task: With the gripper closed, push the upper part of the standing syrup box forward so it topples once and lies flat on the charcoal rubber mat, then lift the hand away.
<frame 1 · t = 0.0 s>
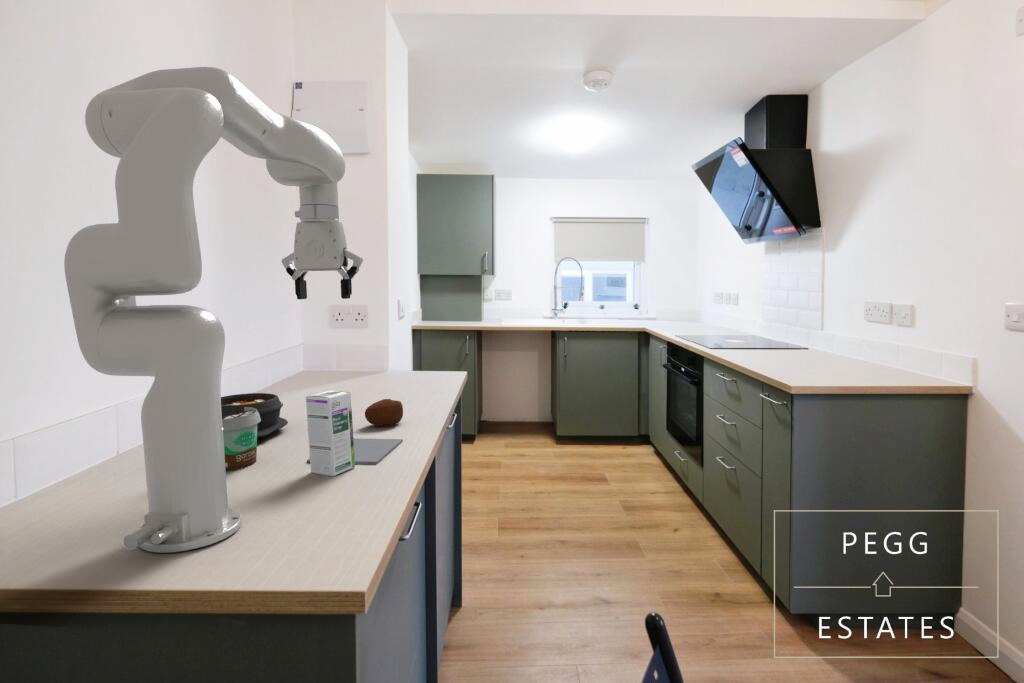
hand: (323, 298, 122), 31 cm above the counter, fingers open, 9 cm apart
potato: (384, 426, 141), on the counter
casserole: (245, 435, 135), on the counter
food container: (242, 465, 112), on the counter
mat: (357, 451, 119), on the counter
syrup box: (332, 471, 107), on the counter
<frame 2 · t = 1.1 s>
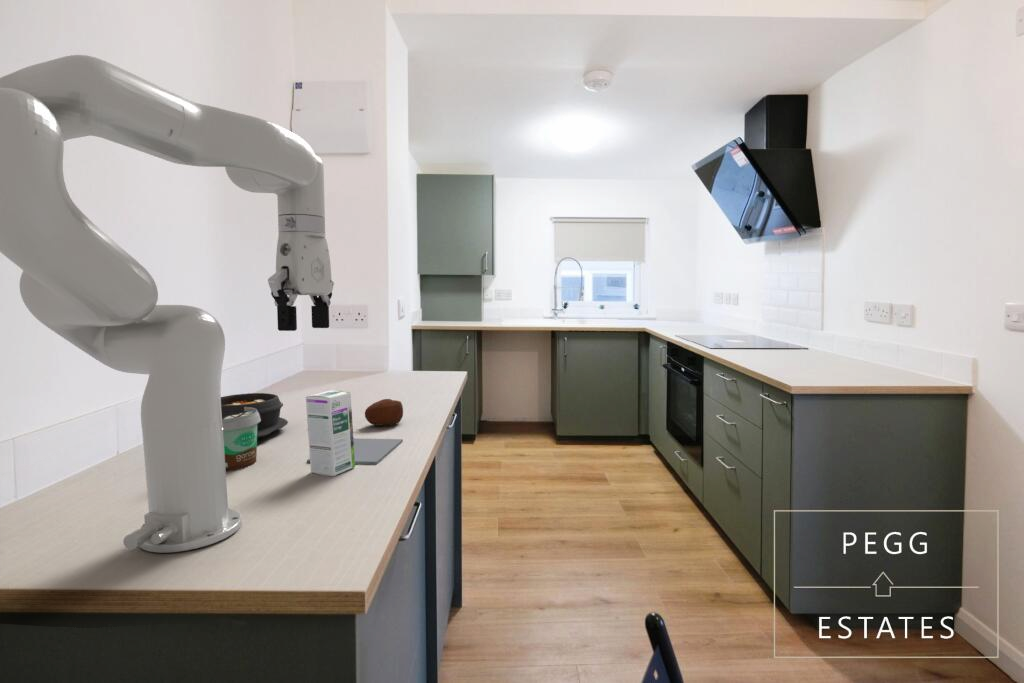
hand: (304, 329, 100), 27 cm above the counter, fingers open, 9 cm apart
nothing on the counter moved.
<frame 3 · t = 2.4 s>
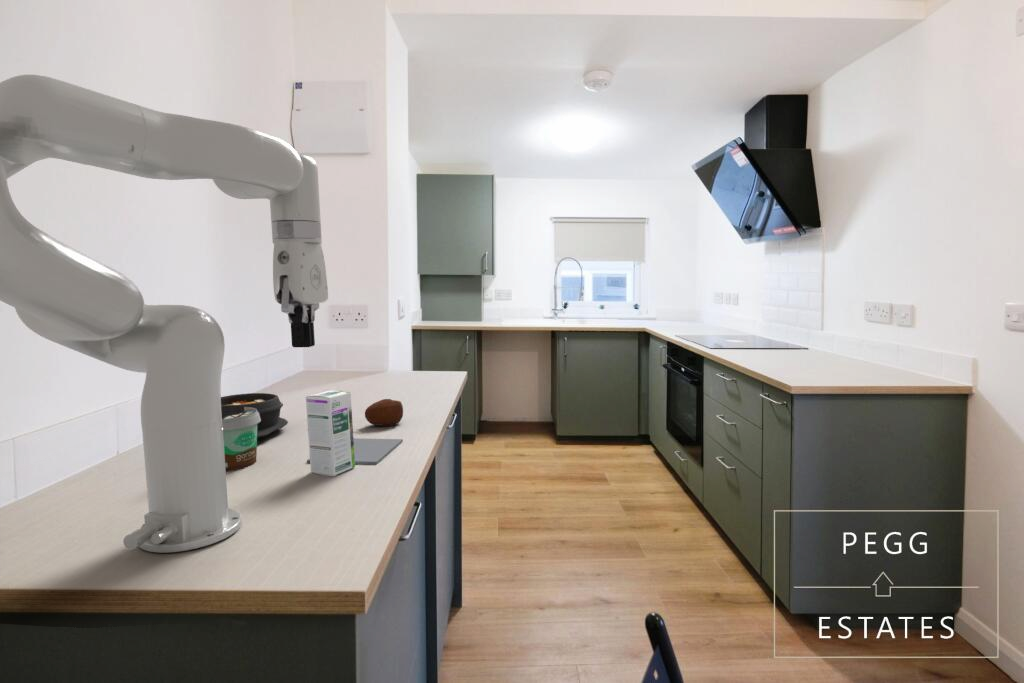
hand: (303, 346, 96), 24 cm above the counter, fingers closed
nothing on the counter moved.
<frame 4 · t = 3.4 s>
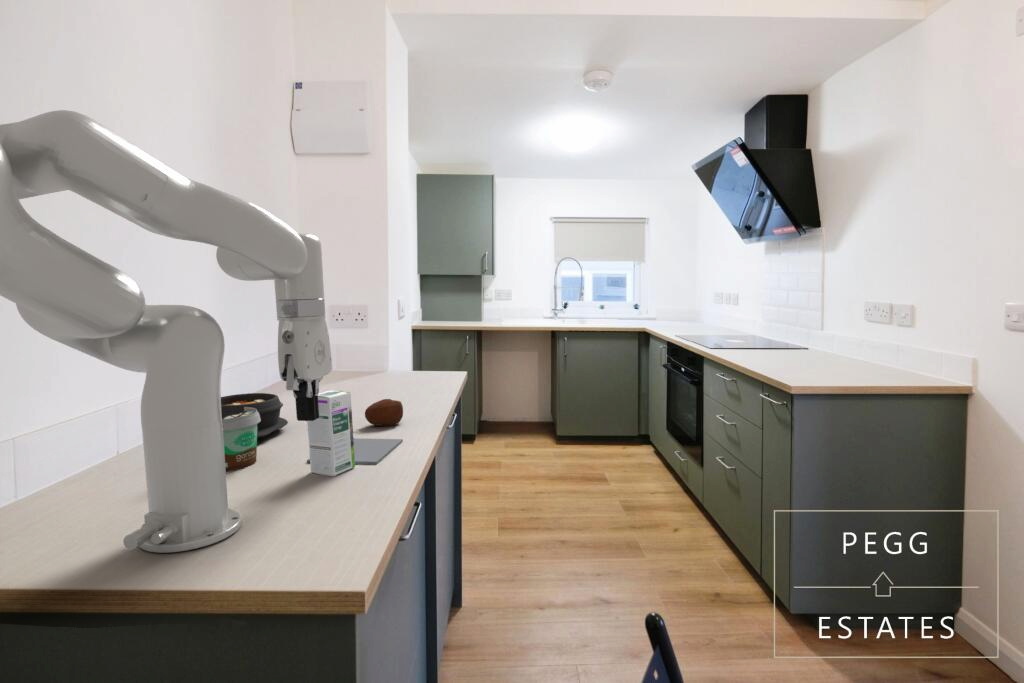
hand: (308, 419, 98), 12 cm above the counter, fingers closed
nothing on the counter moved.
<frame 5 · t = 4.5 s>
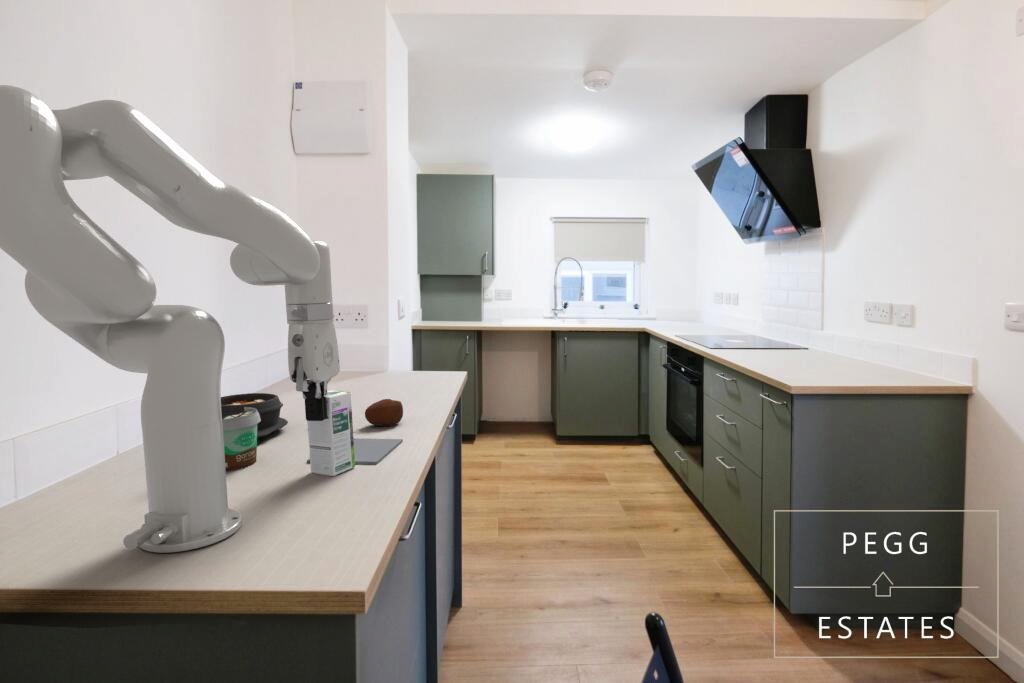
hand: (316, 419, 101), 11 cm above the counter, fingers closed
syrup box: (332, 471, 107), on the counter, touching gripper
everything else where it was.
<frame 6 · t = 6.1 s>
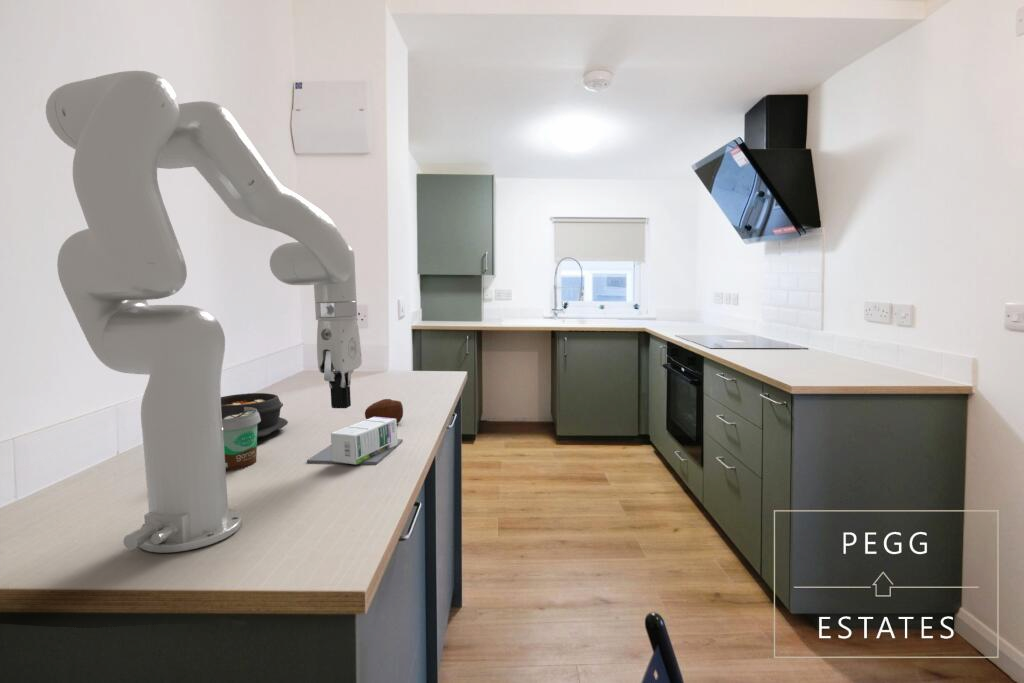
hand: (341, 407, 111), 11 cm above the counter, fingers closed
syrup box: (341, 449, 109), point 3 cm above the counter, touching mat
everything else where it was.
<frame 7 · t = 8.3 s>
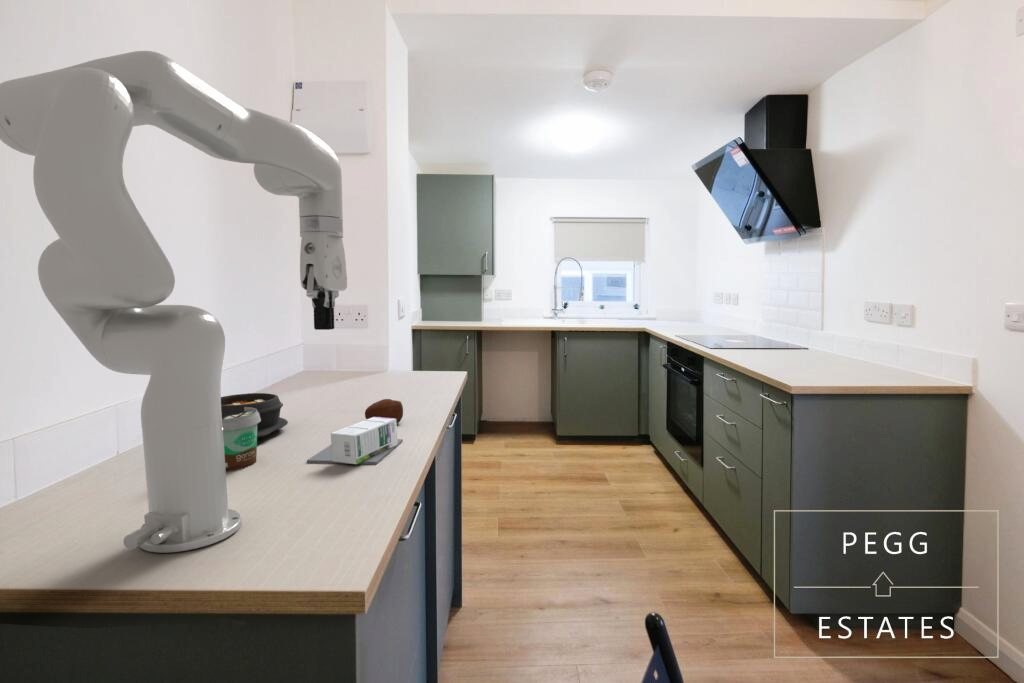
hand: (324, 329, 107), 26 cm above the counter, fingers closed
nothing on the counter moved.
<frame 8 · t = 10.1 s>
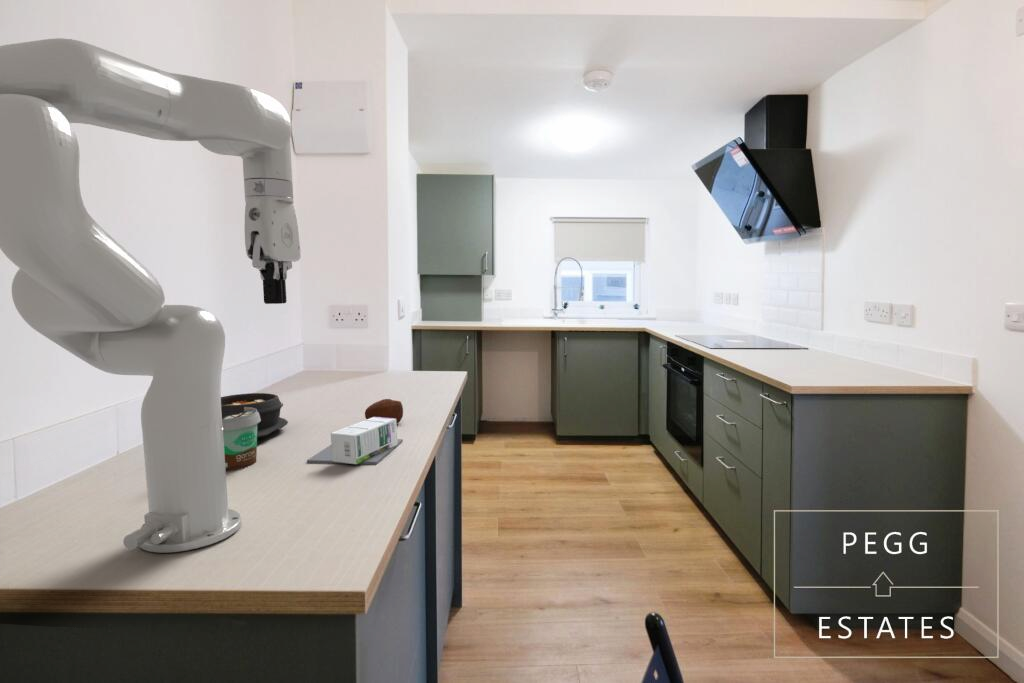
hand: (275, 303, 99), 31 cm above the counter, fingers closed
nothing on the counter moved.
at the end: syrup box tilted 90°; syrup box touching mat; syrup box inside the target area (2.8 cm from its centre), point 3.4 cm above the counter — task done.
